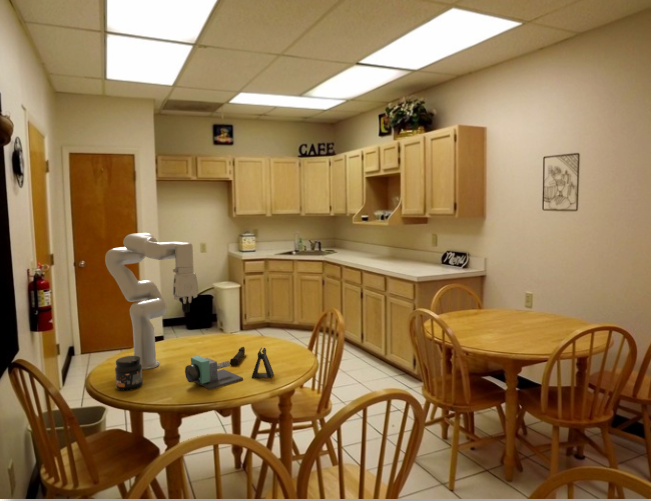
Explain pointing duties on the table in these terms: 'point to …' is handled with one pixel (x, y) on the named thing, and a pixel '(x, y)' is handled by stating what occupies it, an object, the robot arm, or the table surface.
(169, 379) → the table surface
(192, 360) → the spacer
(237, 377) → the base plate
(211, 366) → the bracket
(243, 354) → the hand tool
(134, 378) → the supplement container
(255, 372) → the phone stand
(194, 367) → the shaft
